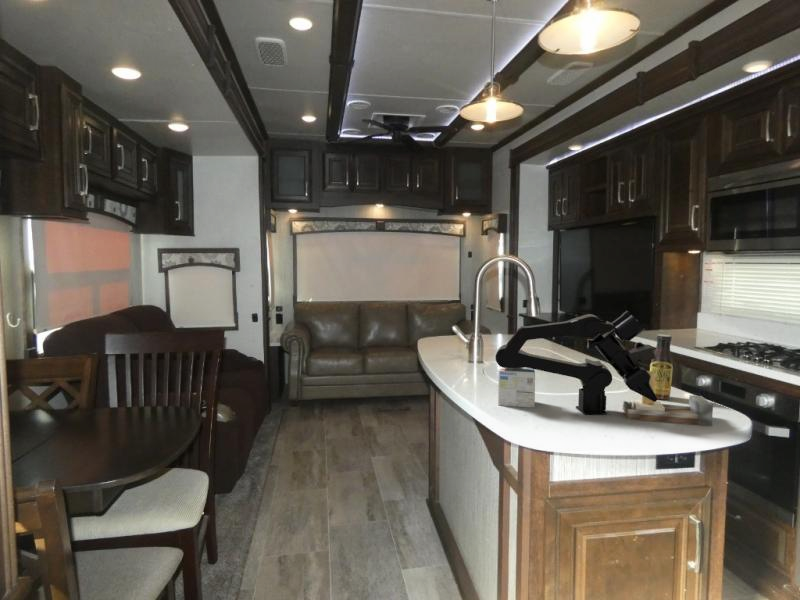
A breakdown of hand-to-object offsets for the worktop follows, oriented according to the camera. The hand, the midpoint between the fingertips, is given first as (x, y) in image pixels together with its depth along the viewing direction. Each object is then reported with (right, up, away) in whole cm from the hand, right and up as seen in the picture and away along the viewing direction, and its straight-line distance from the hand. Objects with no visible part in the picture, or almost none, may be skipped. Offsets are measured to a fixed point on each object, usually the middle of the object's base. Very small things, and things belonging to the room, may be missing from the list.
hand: (652, 396), depth 134 cm
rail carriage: (-1, -4, +1) cm, 4 cm away
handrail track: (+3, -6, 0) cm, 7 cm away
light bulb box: (-35, -5, +12) cm, 37 cm away
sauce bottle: (+12, -4, +19) cm, 23 cm away
